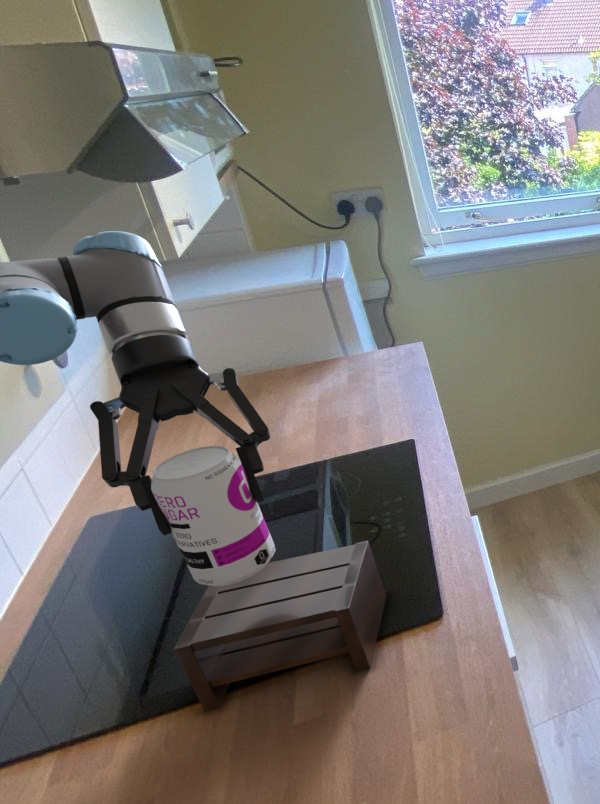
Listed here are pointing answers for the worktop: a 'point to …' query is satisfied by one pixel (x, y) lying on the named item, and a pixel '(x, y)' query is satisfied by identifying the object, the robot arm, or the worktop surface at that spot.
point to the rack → (284, 620)
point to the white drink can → (213, 515)
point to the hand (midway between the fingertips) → (214, 514)
